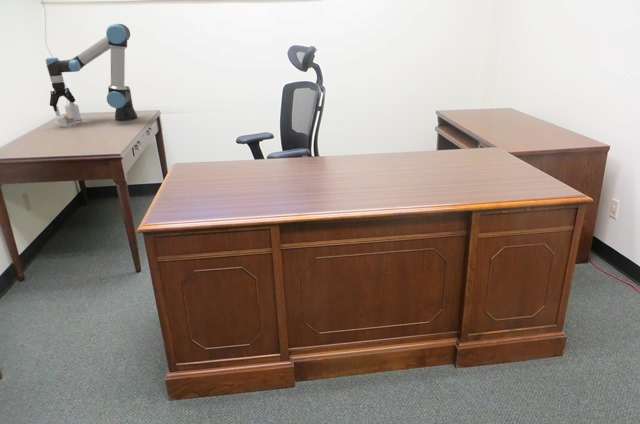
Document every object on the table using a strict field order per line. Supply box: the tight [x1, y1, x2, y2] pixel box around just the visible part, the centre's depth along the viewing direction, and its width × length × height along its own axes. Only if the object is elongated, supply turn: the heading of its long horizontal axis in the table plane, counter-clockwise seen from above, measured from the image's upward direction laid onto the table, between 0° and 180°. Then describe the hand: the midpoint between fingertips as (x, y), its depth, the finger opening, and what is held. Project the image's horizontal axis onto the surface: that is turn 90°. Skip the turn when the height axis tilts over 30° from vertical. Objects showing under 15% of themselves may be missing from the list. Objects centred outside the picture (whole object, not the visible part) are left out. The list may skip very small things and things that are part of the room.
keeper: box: [56, 114, 79, 128], centre depth 320 cm, size 9×9×6 cm
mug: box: [64, 103, 82, 122], centre depth 336 cm, size 9×12×11 cm
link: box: [57, 117, 76, 124], centre depth 320 cm, size 7×7×3 cm
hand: (66, 113), depth 318 cm, fingers open, 13 cm apart
